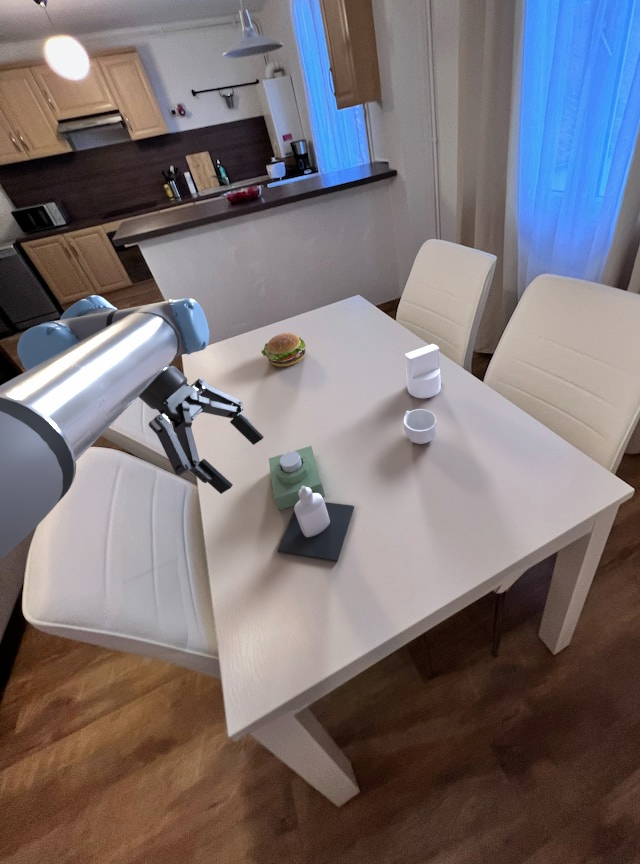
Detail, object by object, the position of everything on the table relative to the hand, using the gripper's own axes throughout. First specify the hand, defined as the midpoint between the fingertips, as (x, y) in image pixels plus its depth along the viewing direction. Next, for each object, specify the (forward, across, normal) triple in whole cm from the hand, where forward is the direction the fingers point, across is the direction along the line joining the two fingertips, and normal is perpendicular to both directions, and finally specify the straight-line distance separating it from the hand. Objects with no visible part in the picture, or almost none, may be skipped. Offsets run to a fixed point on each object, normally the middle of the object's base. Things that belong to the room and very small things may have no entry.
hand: (244, 463), depth 73 cm
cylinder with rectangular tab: (+25, -46, +20) cm, 56 cm away
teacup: (+27, -27, +18) cm, 42 cm away
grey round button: (+10, -11, -2) cm, 15 cm away
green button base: (+14, -12, -5) cm, 19 cm away
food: (-2, -63, -17) cm, 65 cm away
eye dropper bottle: (+19, 0, 0) cm, 19 cm away
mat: (+20, 0, 0) cm, 20 cm away
